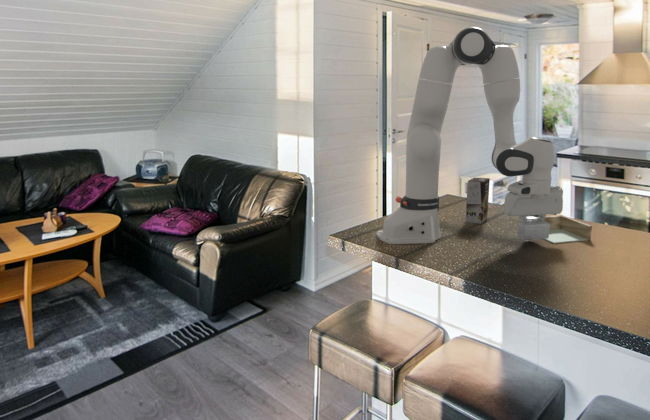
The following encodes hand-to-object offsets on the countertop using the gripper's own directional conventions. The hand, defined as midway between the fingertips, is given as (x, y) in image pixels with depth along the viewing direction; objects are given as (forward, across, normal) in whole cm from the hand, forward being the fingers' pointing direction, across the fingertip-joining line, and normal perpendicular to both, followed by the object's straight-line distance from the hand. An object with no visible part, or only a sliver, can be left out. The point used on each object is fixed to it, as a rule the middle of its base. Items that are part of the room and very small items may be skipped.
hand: (531, 227), depth 173 cm
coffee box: (+5, +4, -28) cm, 29 cm away
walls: (+4, -12, -2) cm, 13 cm away
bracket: (+2, +3, +3) cm, 4 cm away
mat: (+4, -12, -2) cm, 13 cm away
